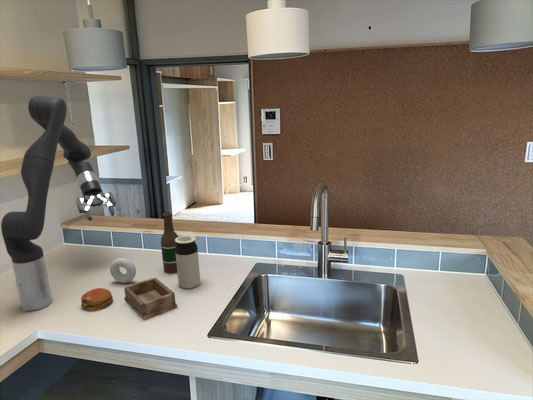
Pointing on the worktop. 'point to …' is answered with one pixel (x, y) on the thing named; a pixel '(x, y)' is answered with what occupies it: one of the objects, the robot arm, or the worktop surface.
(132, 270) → the donut
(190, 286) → the travel mug
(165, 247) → the beer bottle
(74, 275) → the worktop surface
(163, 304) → the walnut stand
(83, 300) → the burger
